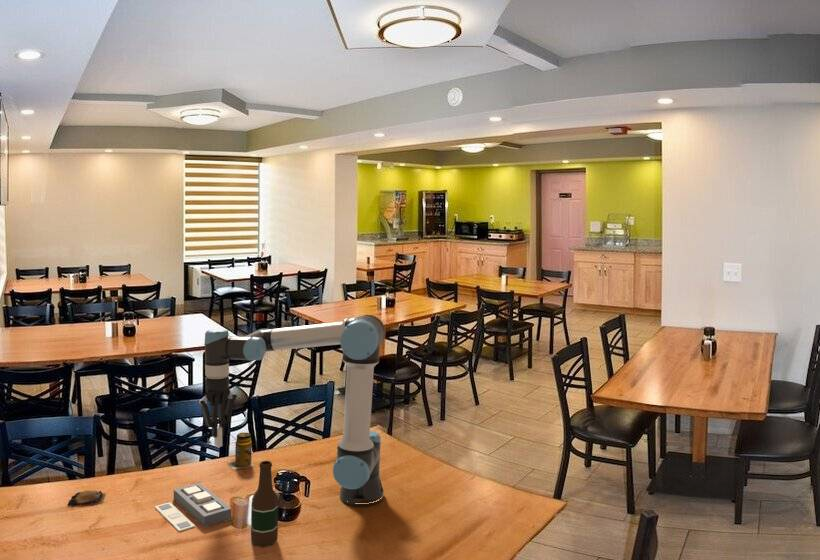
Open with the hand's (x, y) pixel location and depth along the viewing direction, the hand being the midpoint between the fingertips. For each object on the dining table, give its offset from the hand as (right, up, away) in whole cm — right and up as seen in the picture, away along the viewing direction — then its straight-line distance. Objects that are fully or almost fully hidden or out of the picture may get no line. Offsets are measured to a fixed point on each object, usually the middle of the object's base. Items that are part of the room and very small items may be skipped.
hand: (218, 445), depth 208 cm
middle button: (-4, -17, -5) cm, 18 cm away
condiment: (-1, -16, +32) cm, 36 cm away
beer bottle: (+21, -22, -23) cm, 38 cm away
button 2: (+1, -19, -11) cm, 22 cm away
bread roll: (-43, -18, -2) cm, 46 cm away
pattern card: (-11, -20, -11) cm, 25 cm away
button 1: (-9, -17, 0) cm, 19 cm away
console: (-4, -19, -5) cm, 20 cm away
